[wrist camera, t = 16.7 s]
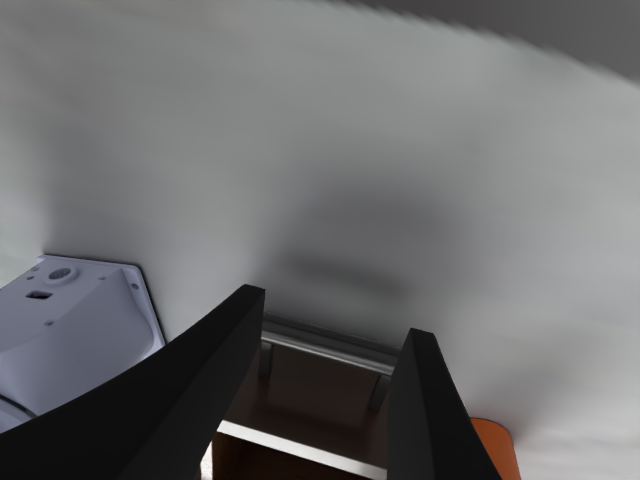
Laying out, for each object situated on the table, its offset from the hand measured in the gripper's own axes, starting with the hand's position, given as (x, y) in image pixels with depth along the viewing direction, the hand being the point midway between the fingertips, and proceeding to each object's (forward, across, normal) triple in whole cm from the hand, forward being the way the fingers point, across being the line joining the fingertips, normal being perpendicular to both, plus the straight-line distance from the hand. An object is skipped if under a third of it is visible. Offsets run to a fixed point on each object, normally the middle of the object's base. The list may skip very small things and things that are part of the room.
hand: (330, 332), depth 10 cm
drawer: (+9, 0, +14) cm, 16 cm away
